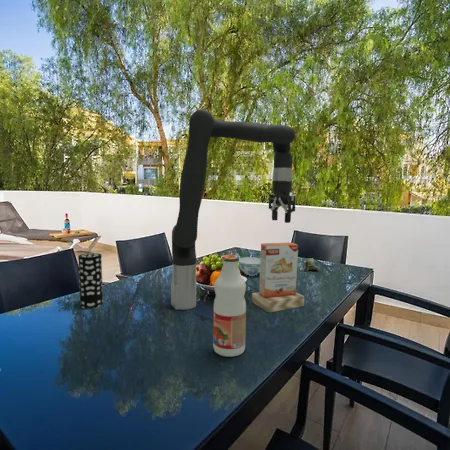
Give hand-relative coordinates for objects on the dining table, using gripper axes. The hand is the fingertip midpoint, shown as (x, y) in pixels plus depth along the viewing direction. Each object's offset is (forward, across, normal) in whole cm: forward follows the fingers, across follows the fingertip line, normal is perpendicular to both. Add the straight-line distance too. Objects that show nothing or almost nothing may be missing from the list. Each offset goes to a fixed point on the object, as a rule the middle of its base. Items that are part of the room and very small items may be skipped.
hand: (280, 221), depth 133 cm
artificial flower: (+34, -39, +42) cm, 67 cm away
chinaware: (+34, -43, +13) cm, 56 cm away
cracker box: (+30, 0, 0) cm, 30 cm away
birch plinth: (+34, 0, 0) cm, 34 cm away
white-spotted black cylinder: (+34, -30, -68) cm, 82 cm away
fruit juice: (+34, +25, -35) cm, 55 cm away
